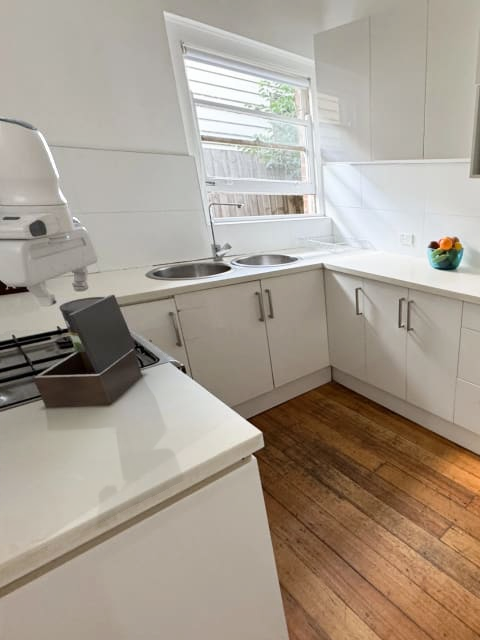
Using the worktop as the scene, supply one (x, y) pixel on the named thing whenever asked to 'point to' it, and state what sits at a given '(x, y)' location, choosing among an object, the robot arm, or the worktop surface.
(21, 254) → the robot arm
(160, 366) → the worktop surface
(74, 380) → the open brown box
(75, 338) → the coffee can
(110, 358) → the dark grey box door
